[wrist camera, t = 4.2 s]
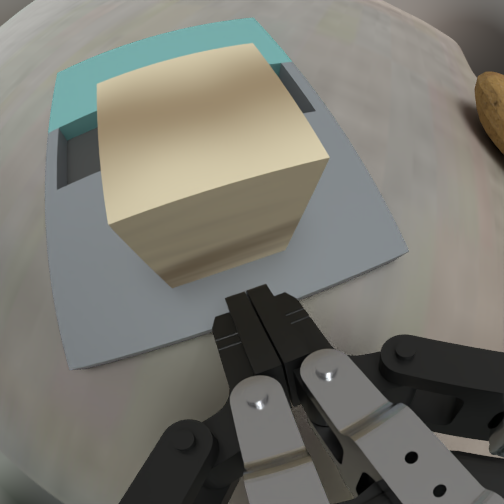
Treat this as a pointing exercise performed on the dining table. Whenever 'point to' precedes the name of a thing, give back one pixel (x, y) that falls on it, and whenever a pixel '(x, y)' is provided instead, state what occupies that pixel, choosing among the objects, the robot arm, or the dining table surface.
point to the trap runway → (214, 286)
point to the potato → (491, 105)
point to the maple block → (205, 161)
